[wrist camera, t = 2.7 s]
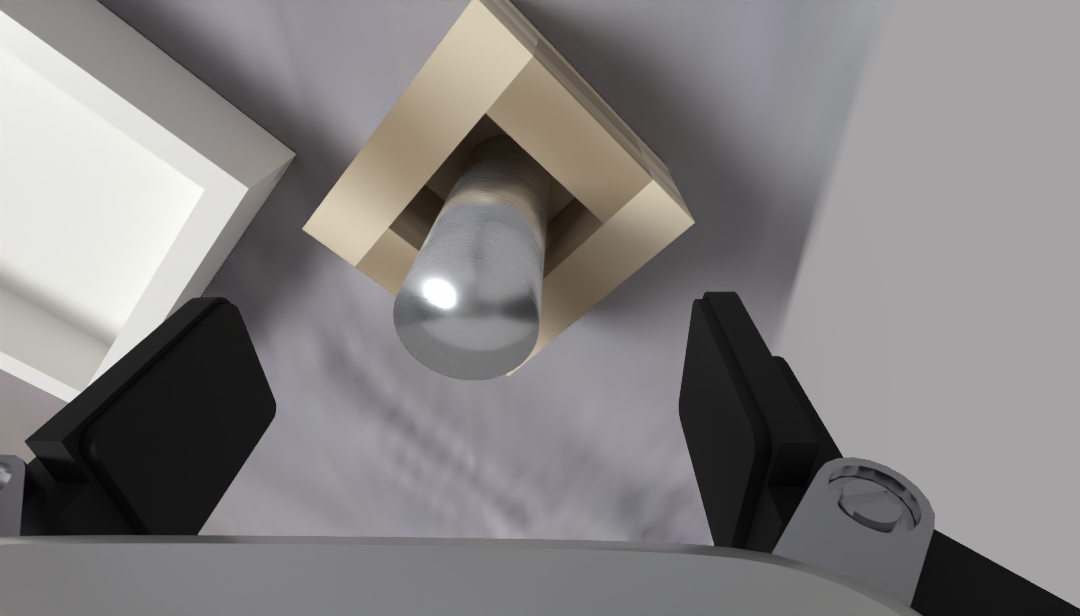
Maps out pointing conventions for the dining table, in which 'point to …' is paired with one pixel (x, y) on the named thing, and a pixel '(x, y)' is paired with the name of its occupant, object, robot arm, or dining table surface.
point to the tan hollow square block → (539, 128)
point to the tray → (110, 189)
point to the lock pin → (480, 268)
